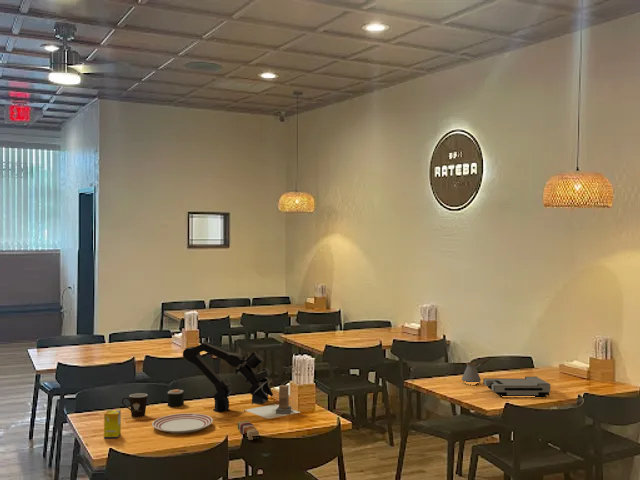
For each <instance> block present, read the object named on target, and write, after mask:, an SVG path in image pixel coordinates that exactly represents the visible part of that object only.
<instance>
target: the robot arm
mask: <svg viewBox="0 0 640 480" xmlns="http://www.w3.org/2000/svg"><path fill="white" fill-rule="evenodd" d="M202 352H205V353H207V354H209V355H212V356H214V357H217V358H219V359H220V360H224V361H225V363H226V364H228V365H230V366H231V367H233V368H235V375H237V374H241V375H242V377H243V378H244V379H245V382H246V383H248V384H250V388H249V389H248V393H249V394H250V396H252V394H253V393H254V394H253V395H255V396H258V397H260V398H262V399H265V400H268V401H269V396H270V397H272V396H274V393H273V392H272V390H271V388H270V385H269V383H270V379H269V377H270V376H271V374H270V369H268V368H266V367H264V368H262V369H261V371H260V372H258V371H254V370H253V369H257V368H258V367H259V366H260V365H261V364H262V363H263V362H264V358H263V356H262V355H260V354H259V353H258V352H256V351H252V352H251V354H250V355H249V356H248V357H247V356H243V355H242V353H236V352H232V351H226V350H224V349H222V348H220V347H217V346H215V345H213V344H210V343H208V342H207V341H206V342H201V344H198V345H197V346H190V347H186V348H185V349H184V350H183V351H182V358H184V359H185V360H186V361H188V363H191V364H193V365H195V367H197V368H198V369H199V371H201V373H202V374H203V375H204V376H205V377H206V378H207V379H208V380H209V381H210V383H212V384H213V386H214V389H215V391H216V393H215V394H214V395H213V399H214V408H212V411H215V412H217V413H224V412H229V411H230V410H231V409H230V400H229V397H230V394H231V393H232V392H233V391H234V390H233V385H232V383H233V382H230V381H229V379H228V378H224V379H223V378H221V377H220V376H219V375H218V374H217V373H216V372H215V370H213V369H212V367H210V365H209V364H208V363H207V362H206V361H205V360H204V359H203V358H202V355H201V353H202ZM264 392H265V393H267V394H268V397H267V395H266V394H265V393H264Z"/></svg>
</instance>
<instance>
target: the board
mask: <svg viewBox="0 0 640 480" xmlns="http://www.w3.org/2000/svg"><path fill="white" fill-rule="evenodd" d="M278 407H279V404H276V403H275V404H271V405H270V404H269V405H264V406H258V407H257V406H256V407H252V408H247V409H244V410H243V412H245V411H246V412H248V413H251V414H253V415H256V416H259V417H262V418H263V419H267V420H269V419H274V418H275V419H276V418H280V417H284V416H289V415H294V414H298V413H299V414H300V413H301V411H299V410H298V411H297V410H295V409H292V408H291V411H290V412H289V413H288V414H276V409H277V408H278Z"/></svg>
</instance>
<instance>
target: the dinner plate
mask: <svg viewBox="0 0 640 480" xmlns="http://www.w3.org/2000/svg"><path fill="white" fill-rule="evenodd" d="M213 422H214V420H213V418H212V417H211V416H209V415H208V414H204V413H203V414H202V413H194V412H193V413H192V412H191V413H190V412H189V413H187V412H181V413H173V414H169V415H164V416H161V417H158V418H156V419H155V420H154V421H153V422H152V423H151V425H152V427H153V428H154V429H156V430H158V431H162V432H167V433H169V434H188V433H190V434H191V433H194V432H198V431H200V430H203V429H205V428H207V427H208V426H210V425H211V424H212V423H213Z"/></svg>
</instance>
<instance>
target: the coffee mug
mask: <svg viewBox="0 0 640 480" xmlns="http://www.w3.org/2000/svg"><path fill="white" fill-rule="evenodd" d="M124 400H128V401H129V406H130V407H129V406H127V405H126V404H125V402H124ZM121 404H122V405H123V406H124V407H125V408H126V409H127V410H130V413H131V418H142V417H145V416H146V409H147V404H148V394H147V393H142V392H141V393H139V392H138V393H132V394H129V397H124V398H122V400H121Z"/></svg>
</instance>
